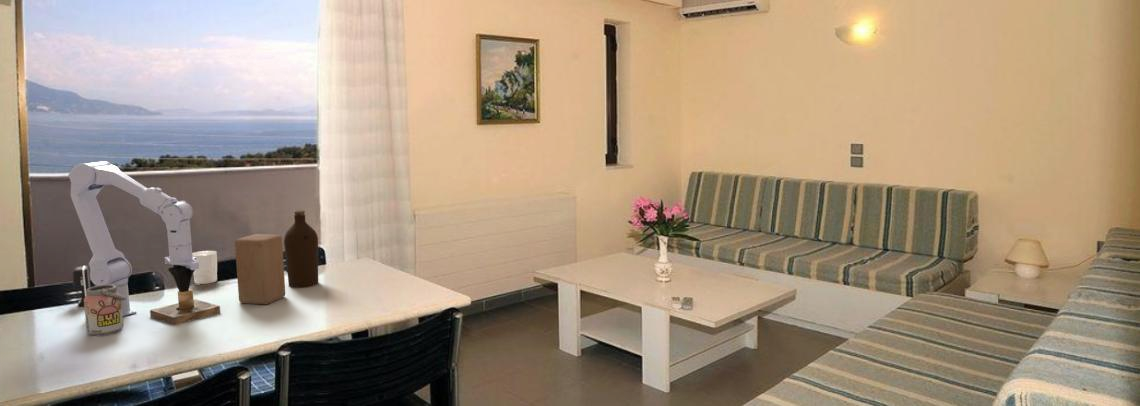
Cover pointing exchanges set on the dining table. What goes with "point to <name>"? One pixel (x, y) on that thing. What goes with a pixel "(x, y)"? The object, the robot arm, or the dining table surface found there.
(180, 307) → the peg
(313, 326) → the dining table surface
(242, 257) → the wooden block
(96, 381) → the dining table surface
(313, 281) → the olive oil
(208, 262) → the white cup
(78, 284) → the battery charger
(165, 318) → the board
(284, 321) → the dining table surface
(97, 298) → the beverage can
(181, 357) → the dining table surface
